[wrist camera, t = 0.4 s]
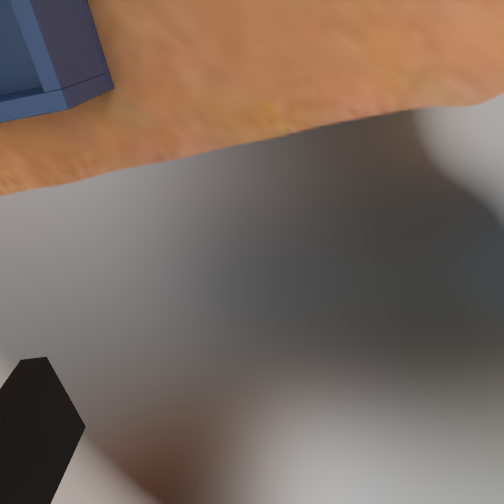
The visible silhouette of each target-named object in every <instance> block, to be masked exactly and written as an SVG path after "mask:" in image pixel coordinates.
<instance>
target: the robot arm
mask: <svg viewBox="0 0 504 504" xmlns="http://www.w3.org/2000/svg"><path fill="white" fill-rule="evenodd" d="M84 429H85V425H84V423H83V421H82V420H81V418H80V416H79V414H78V412H77V410H76V409H75V407H74V405H73V403H72V401H71V400H70V398H69V396H68V394H67V393H66V391H65V389H64V387H63V385H62V384H61V382H60V380H59V378H58V376H57V375H56V373H55V371H54V370H53V368H52V366H51V364H50V362H49V360H48V359H47V357H41V358H33V359H24V360H20V362H19V363H18V365H17V366H16V368H15V369H14V370H13V372H12V373H11V374H10V376H9V377H8V379H7V380H6V382H5V383H4V384H3V386H2V387H1V389H0V504H51V501H52V499H53V497H54V495H55V492H56V491H57V488H58V486H59V484H60V482H61V480H62V477H63V475H64V473H65V471H66V469H67V466H68V464H69V462H70V460H71V458H72V456H73V453H74V451H75V449H76V447H77V445H78V442H79V440H80V438H81V436H82V434H83V431H84Z"/></svg>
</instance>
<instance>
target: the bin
mask: <svg viewBox="0 0 504 504" xmlns="http://www.w3.org/2000/svg"><path fill="white" fill-rule="evenodd" d="M112 89H114V86H113V83H112V80H111V77H110V73H109V70H108V67H107V64H106V61H105V57H104V54H103V51H102V48H101V45H100V41H99V38H98V35H97V32H96V29H95V25H94V22H93V19H92V16H91V13H90V9H89V6H88V3H87V0H0V123H1V122H6V121H12V120H17V119H22V118H27V117H32V116H37V115H43V114H48V113H53V112H58V111H63V110H68V109H71V108H73V107H75V106H77V105H79V104H81V103H84V102H86V101H88V100H90V99H92V98H95V97H97V96H99V95H101V94H103V93H106V92H108V91H110V90H112Z"/></svg>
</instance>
